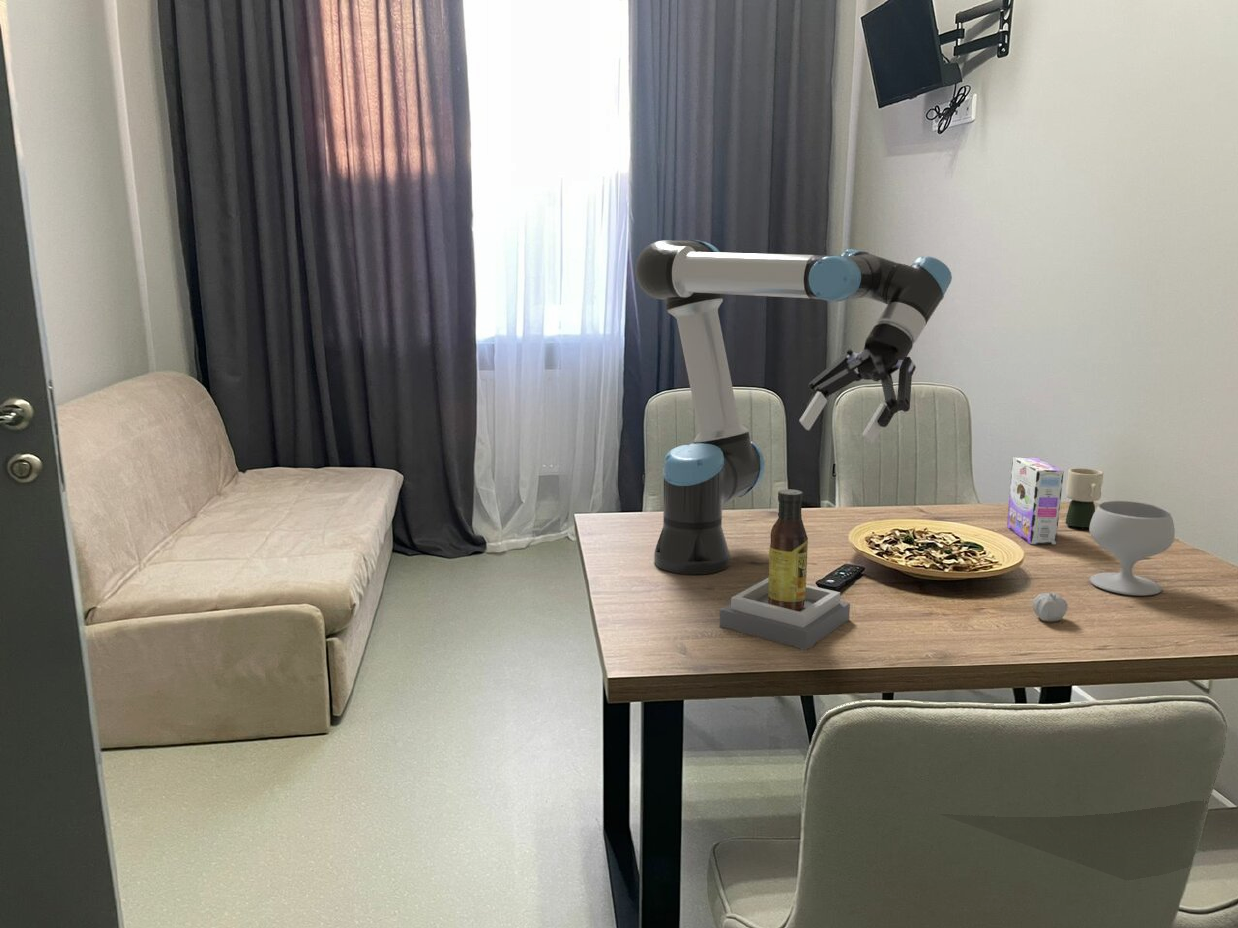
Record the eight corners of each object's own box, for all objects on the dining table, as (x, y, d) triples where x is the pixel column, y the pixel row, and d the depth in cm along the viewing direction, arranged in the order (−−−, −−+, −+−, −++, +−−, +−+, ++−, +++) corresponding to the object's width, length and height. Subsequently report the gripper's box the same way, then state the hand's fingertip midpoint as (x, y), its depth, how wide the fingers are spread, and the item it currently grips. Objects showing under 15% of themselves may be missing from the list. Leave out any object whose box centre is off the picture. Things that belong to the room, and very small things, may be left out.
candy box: (1057, 545, 206) (1065, 470, 202) (1029, 545, 206) (1036, 470, 202) (1031, 527, 219) (1038, 456, 216) (1005, 527, 219) (1011, 456, 216)
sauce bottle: (804, 614, 159) (809, 498, 155) (766, 611, 160) (770, 496, 156) (805, 600, 165) (810, 488, 161) (768, 597, 167) (772, 486, 162)
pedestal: (719, 626, 162) (720, 598, 161) (766, 599, 174) (767, 572, 173) (806, 649, 153) (807, 620, 151) (849, 619, 165) (850, 591, 164)
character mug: (1106, 534, 214) (1113, 477, 211) (1074, 533, 214) (1080, 476, 211) (1085, 520, 224) (1091, 465, 222) (1054, 520, 225) (1059, 465, 222)
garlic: (1064, 628, 161) (1067, 598, 160) (1029, 622, 164) (1032, 593, 163) (1067, 616, 166) (1070, 587, 165) (1033, 610, 169) (1036, 582, 168)
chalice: (1085, 569, 190) (1093, 496, 187) (1166, 580, 184) (1176, 504, 181) (1081, 591, 178) (1090, 513, 175) (1168, 604, 172) (1179, 523, 169)
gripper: (965, 356, 162) (904, 459, 157) (847, 341, 181) (789, 432, 176) (948, 328, 157) (885, 432, 152) (829, 315, 176) (770, 408, 171)
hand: (834, 432), depth 164 cm, fingers open, 13 cm apart
